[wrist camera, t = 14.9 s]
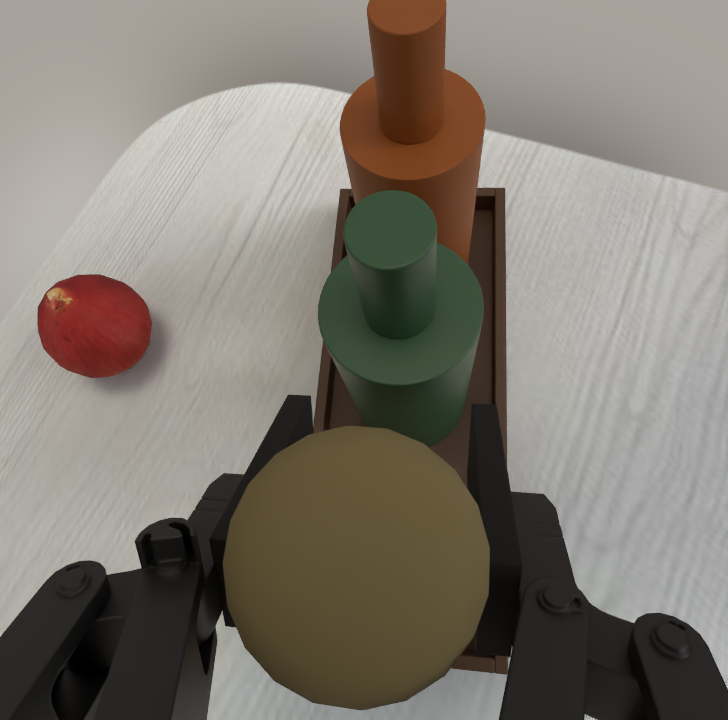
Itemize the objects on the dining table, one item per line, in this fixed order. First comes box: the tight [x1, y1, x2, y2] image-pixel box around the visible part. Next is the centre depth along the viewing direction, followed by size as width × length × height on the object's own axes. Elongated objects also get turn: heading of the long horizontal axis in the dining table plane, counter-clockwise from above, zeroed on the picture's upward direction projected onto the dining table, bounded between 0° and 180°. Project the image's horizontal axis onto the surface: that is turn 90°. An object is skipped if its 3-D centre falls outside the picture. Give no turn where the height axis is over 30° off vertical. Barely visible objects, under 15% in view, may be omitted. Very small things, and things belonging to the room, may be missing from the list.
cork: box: [223, 426, 490, 710], centre depth 14 cm, size 6×6×11 cm
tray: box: [313, 188, 508, 674], centre depth 30 cm, size 10×26×2 cm, turn 175°
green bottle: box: [318, 190, 484, 447], centre depth 23 cm, size 6×6×17 cm
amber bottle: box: [340, 0, 485, 265], centre depth 26 cm, size 6×6×17 cm
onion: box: [38, 275, 152, 378], centre depth 31 cm, size 6×6×8 cm
